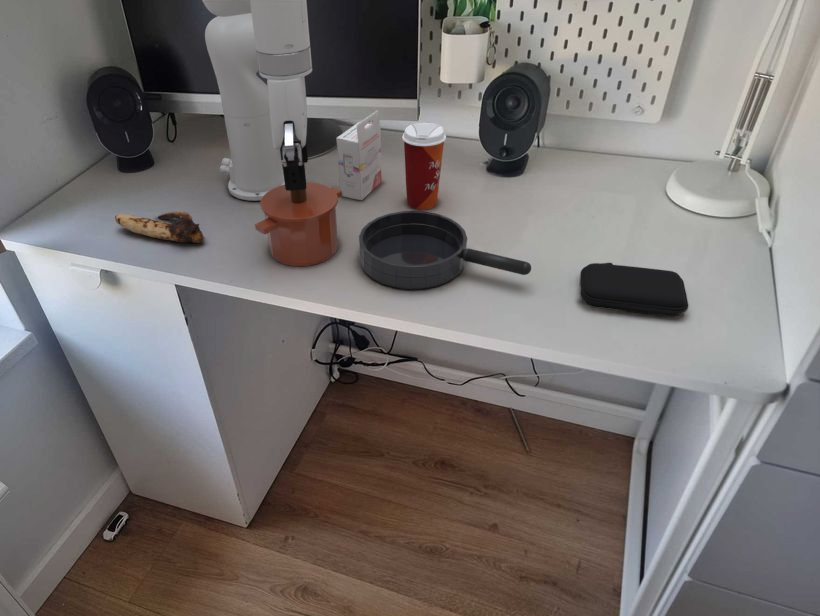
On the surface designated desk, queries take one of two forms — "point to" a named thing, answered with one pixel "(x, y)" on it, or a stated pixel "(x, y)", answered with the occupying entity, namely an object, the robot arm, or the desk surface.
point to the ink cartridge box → (360, 158)
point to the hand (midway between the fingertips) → (297, 175)
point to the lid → (299, 203)
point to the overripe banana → (164, 227)
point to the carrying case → (633, 289)
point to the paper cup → (423, 163)
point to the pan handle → (496, 261)
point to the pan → (412, 249)
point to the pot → (302, 239)
